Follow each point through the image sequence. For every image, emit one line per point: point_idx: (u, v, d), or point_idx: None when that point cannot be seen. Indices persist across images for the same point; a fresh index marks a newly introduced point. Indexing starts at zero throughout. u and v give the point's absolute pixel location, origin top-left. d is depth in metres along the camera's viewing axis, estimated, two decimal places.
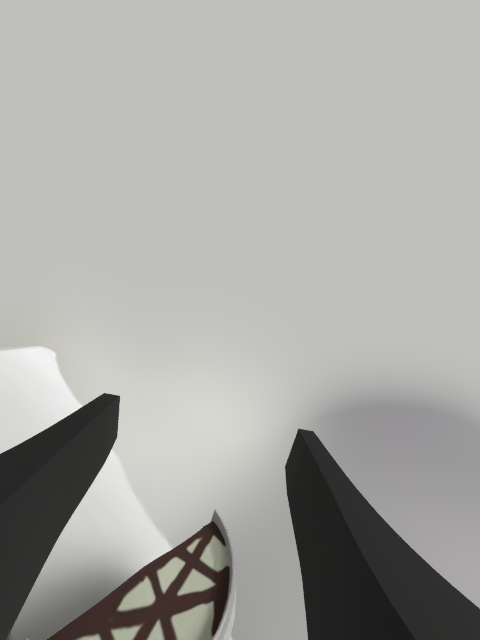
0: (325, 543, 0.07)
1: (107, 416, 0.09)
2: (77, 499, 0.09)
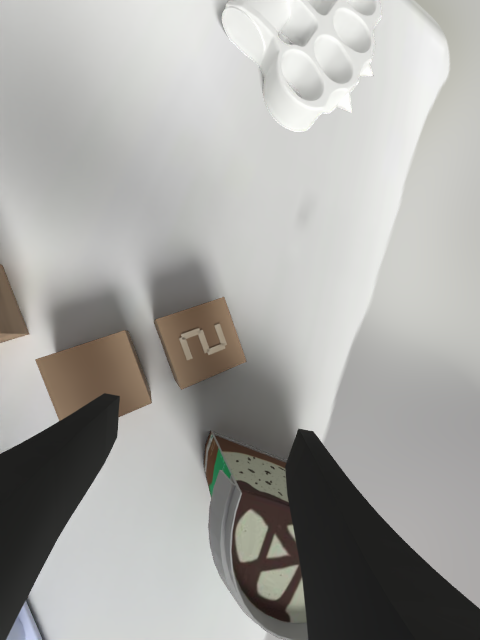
0: (325, 543, 0.07)
1: (107, 416, 0.09)
2: (77, 499, 0.09)
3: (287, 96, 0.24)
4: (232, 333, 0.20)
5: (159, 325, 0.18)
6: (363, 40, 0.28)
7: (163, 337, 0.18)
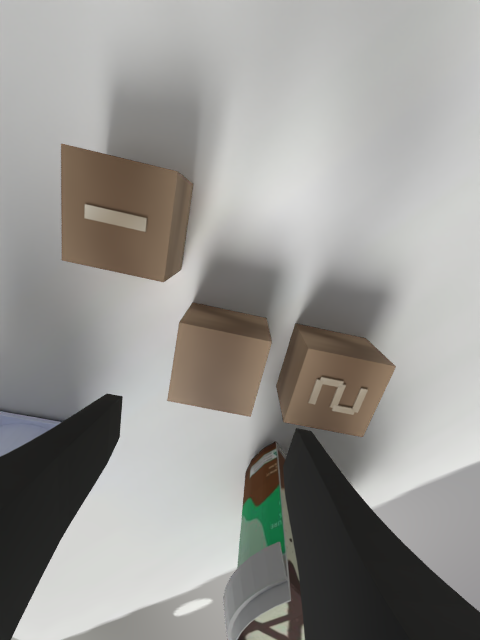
0: (322, 543, 0.07)
1: (110, 417, 0.09)
2: (80, 500, 0.09)
3: None
4: (372, 405, 0.16)
5: (307, 356, 0.15)
6: None
7: (302, 369, 0.15)
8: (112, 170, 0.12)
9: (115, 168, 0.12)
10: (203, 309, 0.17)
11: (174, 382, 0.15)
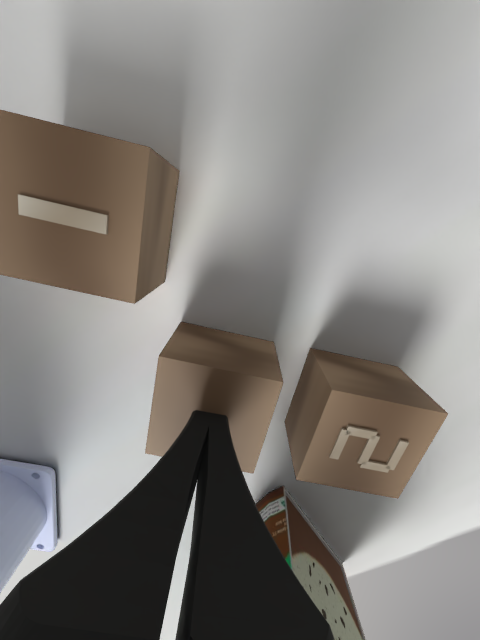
0: (198, 523, 0.07)
1: (206, 434, 0.10)
2: (186, 516, 0.09)
3: None
4: (413, 460, 0.12)
5: (330, 399, 0.11)
6: None
7: (323, 415, 0.11)
8: (55, 145, 0.08)
9: (59, 142, 0.08)
10: (194, 332, 0.13)
11: (153, 431, 0.12)
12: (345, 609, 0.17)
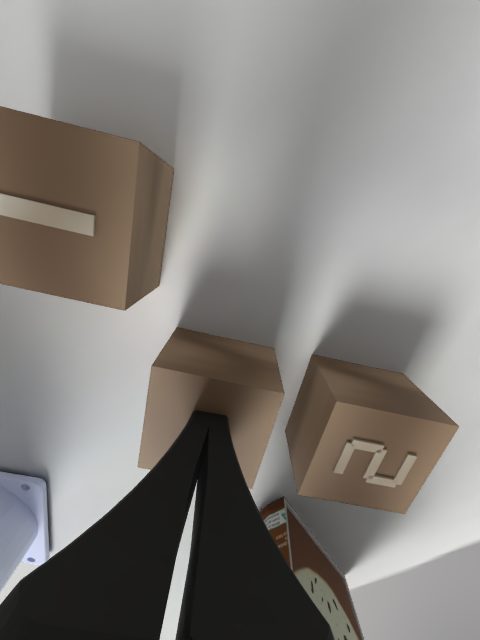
0: (198, 523, 0.07)
1: (207, 434, 0.10)
2: (186, 517, 0.09)
3: None
4: (421, 475, 0.11)
5: (334, 411, 0.10)
6: None
7: (326, 428, 0.11)
8: (36, 139, 0.07)
9: (41, 135, 0.07)
10: (190, 338, 0.13)
11: (146, 444, 0.11)
12: (348, 626, 0.16)
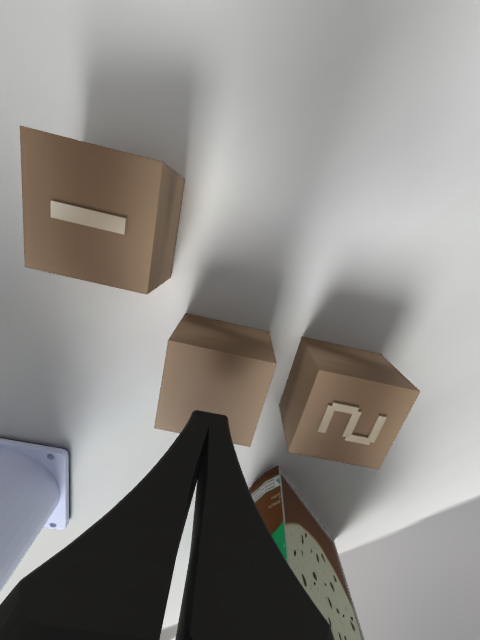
0: (198, 523, 0.07)
1: (207, 434, 0.10)
2: (186, 516, 0.09)
3: None
4: (391, 434, 0.14)
5: (317, 378, 0.13)
6: None
7: (311, 393, 0.13)
8: (83, 159, 0.10)
9: (87, 157, 0.10)
10: (198, 321, 0.15)
11: (162, 407, 0.13)
12: (335, 577, 0.18)
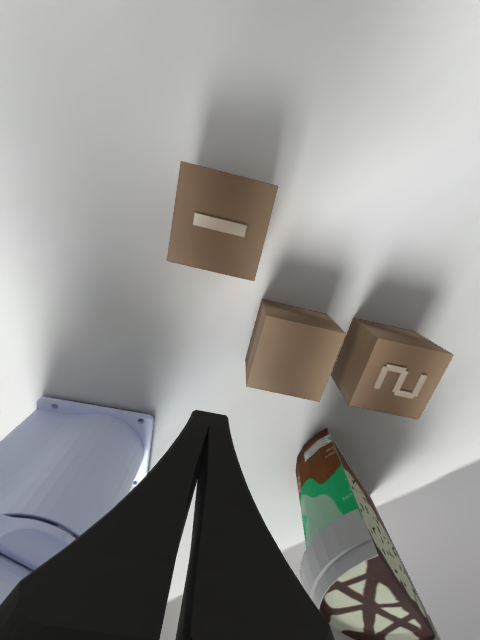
0: (198, 523, 0.07)
1: (206, 434, 0.10)
2: (186, 516, 0.09)
3: None
4: (429, 390, 0.18)
5: (376, 345, 0.17)
6: None
7: (370, 356, 0.17)
8: (222, 184, 0.14)
9: (224, 182, 0.14)
10: (274, 305, 0.19)
11: (254, 369, 0.17)
12: (377, 518, 0.22)
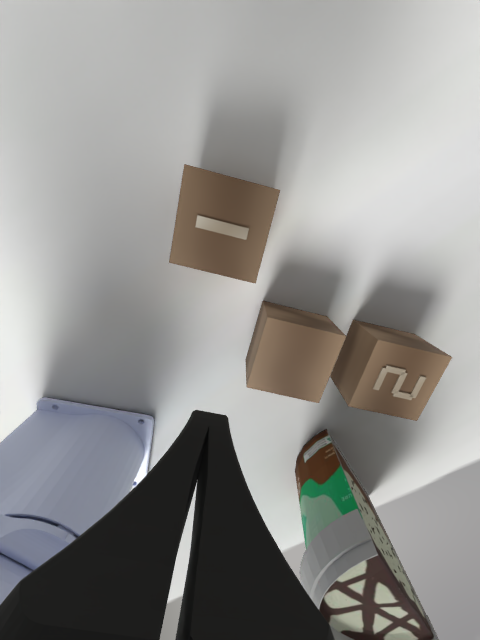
0: (198, 523, 0.07)
1: (206, 434, 0.10)
2: (186, 517, 0.09)
3: None
4: (428, 391, 0.18)
5: (376, 346, 0.17)
6: None
7: (370, 358, 0.17)
8: (225, 187, 0.14)
9: (227, 186, 0.14)
10: (275, 306, 0.19)
11: (255, 370, 0.17)
12: (376, 519, 0.22)
